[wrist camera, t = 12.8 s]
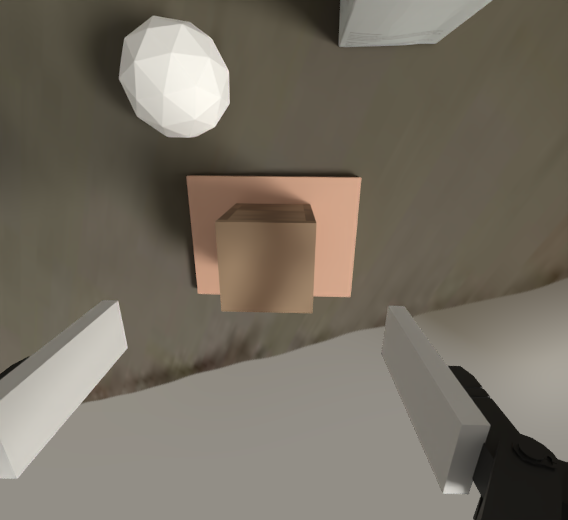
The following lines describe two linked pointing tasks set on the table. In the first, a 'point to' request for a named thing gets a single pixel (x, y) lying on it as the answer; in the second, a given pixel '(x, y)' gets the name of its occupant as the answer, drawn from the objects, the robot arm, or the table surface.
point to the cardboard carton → (266, 258)
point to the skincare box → (401, 21)
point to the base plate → (280, 190)
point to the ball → (174, 77)
